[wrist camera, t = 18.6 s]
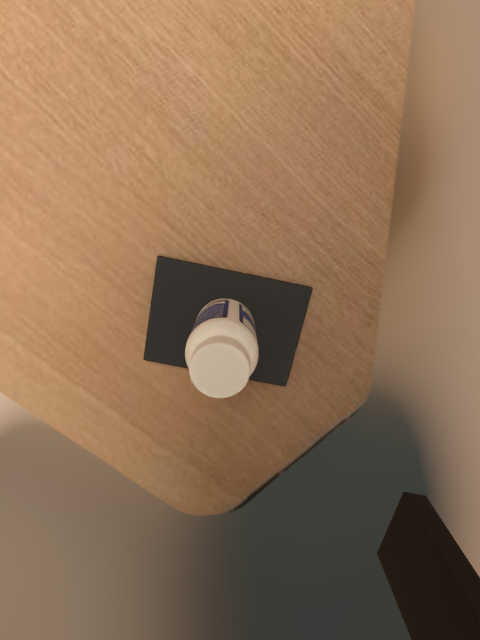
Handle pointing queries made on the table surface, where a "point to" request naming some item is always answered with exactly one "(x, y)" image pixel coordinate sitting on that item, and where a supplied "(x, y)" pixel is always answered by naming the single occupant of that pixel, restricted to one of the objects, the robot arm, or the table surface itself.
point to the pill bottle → (222, 348)
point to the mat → (216, 283)
